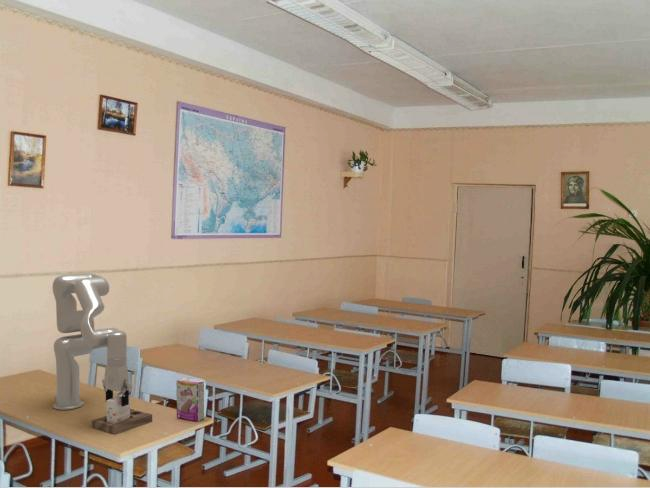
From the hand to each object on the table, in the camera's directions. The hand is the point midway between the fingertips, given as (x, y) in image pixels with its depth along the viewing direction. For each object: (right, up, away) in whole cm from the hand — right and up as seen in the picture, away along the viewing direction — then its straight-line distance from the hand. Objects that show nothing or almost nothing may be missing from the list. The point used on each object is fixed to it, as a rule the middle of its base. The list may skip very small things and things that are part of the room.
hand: (117, 403), depth 260 cm
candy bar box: (+28, -9, +10) cm, 31 cm away
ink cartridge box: (+1, -10, 0) cm, 10 cm away
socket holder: (+2, -9, +2) cm, 10 cm away
